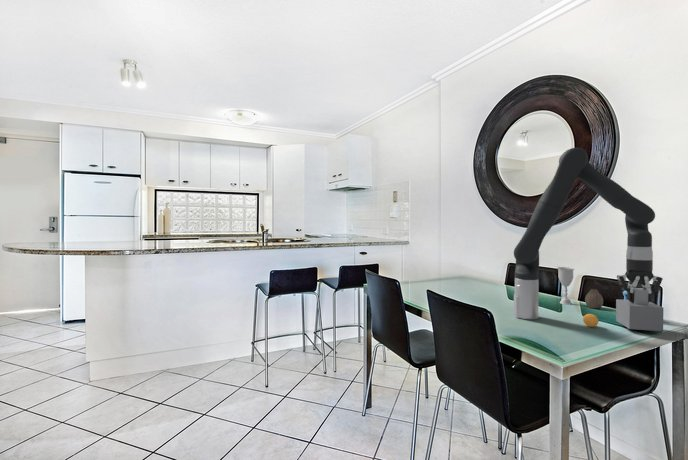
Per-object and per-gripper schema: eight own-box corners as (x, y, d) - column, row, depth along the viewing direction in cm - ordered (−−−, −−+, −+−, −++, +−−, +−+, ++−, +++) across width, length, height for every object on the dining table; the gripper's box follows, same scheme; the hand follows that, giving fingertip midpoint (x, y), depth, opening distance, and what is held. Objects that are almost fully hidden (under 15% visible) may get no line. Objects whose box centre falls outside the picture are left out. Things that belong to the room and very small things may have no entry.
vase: (606, 309, 153) (606, 291, 153) (589, 309, 155) (589, 291, 155) (598, 306, 160) (598, 288, 160) (582, 305, 162) (582, 287, 161)
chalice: (574, 302, 167) (574, 267, 167) (574, 305, 161) (575, 269, 161) (557, 300, 171) (557, 266, 171) (557, 303, 165) (557, 268, 165)
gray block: (629, 328, 123) (629, 291, 122) (616, 320, 133) (616, 285, 132) (663, 331, 120) (663, 292, 119) (647, 322, 129) (647, 287, 129)
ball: (582, 320, 129) (594, 313, 128) (577, 317, 134) (588, 310, 133) (592, 330, 128) (603, 323, 127) (587, 327, 133) (598, 319, 132)
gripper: (621, 258, 124) (621, 303, 124) (668, 259, 120) (668, 306, 120) (612, 256, 131) (612, 299, 132) (656, 257, 127) (655, 301, 127)
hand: (638, 302), depth 126 cm, fingers closed on gray block, 4 cm apart
